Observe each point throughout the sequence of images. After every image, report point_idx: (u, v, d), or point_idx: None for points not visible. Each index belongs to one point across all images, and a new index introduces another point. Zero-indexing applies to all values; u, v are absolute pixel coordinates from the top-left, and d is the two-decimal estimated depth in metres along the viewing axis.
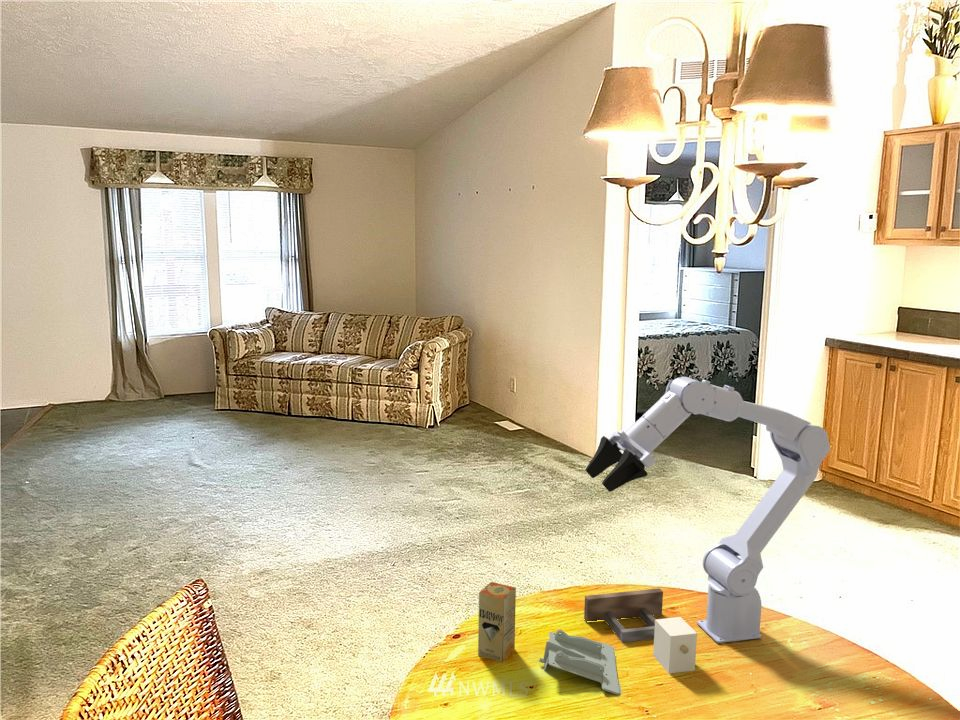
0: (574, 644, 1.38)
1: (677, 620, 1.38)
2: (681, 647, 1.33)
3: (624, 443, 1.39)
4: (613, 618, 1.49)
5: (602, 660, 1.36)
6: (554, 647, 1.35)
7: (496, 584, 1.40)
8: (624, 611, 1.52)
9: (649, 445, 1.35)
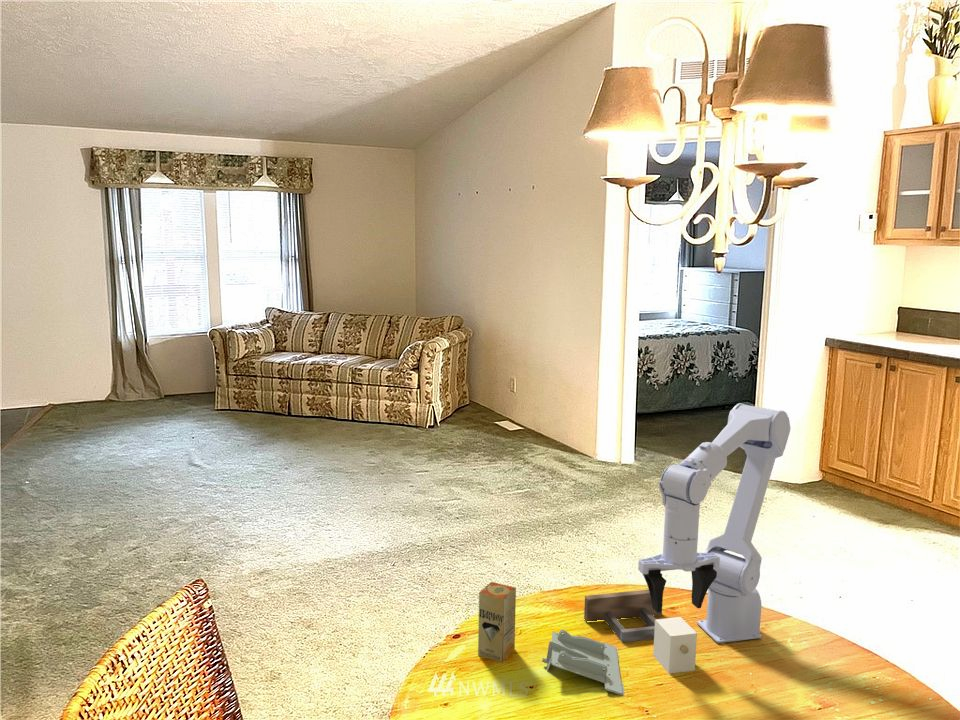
0: (577, 644, 1.38)
1: (677, 620, 1.38)
2: (681, 647, 1.33)
3: None
4: (613, 618, 1.49)
5: (605, 660, 1.36)
6: (557, 647, 1.35)
7: (496, 584, 1.40)
8: (624, 611, 1.52)
9: None
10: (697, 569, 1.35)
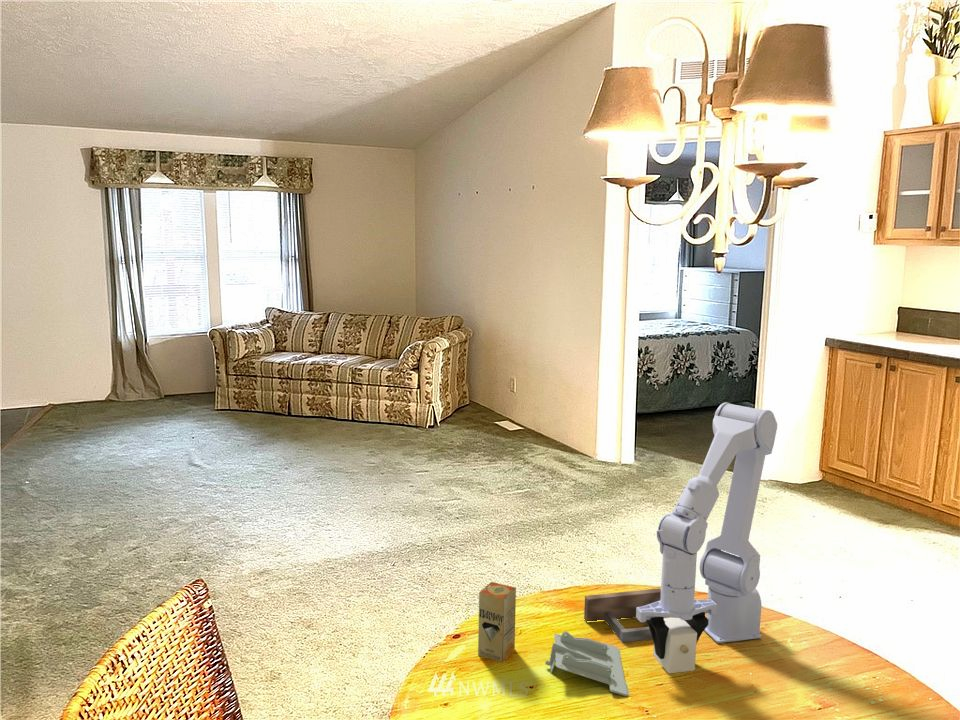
0: (580, 646, 1.37)
1: (677, 620, 1.38)
2: (681, 647, 1.33)
3: None
4: (613, 618, 1.49)
5: (608, 661, 1.35)
6: (560, 649, 1.34)
7: (496, 584, 1.40)
8: (624, 611, 1.52)
9: None
10: None
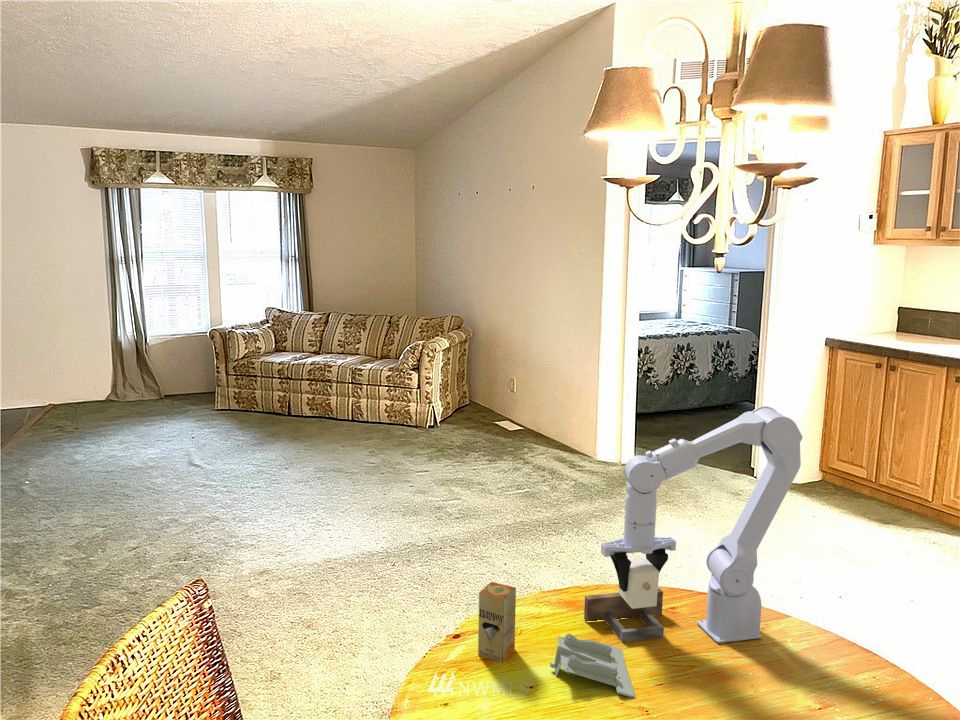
0: (583, 648, 1.37)
1: (641, 560, 1.48)
2: (644, 584, 1.43)
3: None
4: (613, 618, 1.49)
5: (613, 663, 1.35)
6: (565, 652, 1.33)
7: (496, 584, 1.40)
8: (624, 611, 1.52)
9: None
10: (650, 553, 1.47)
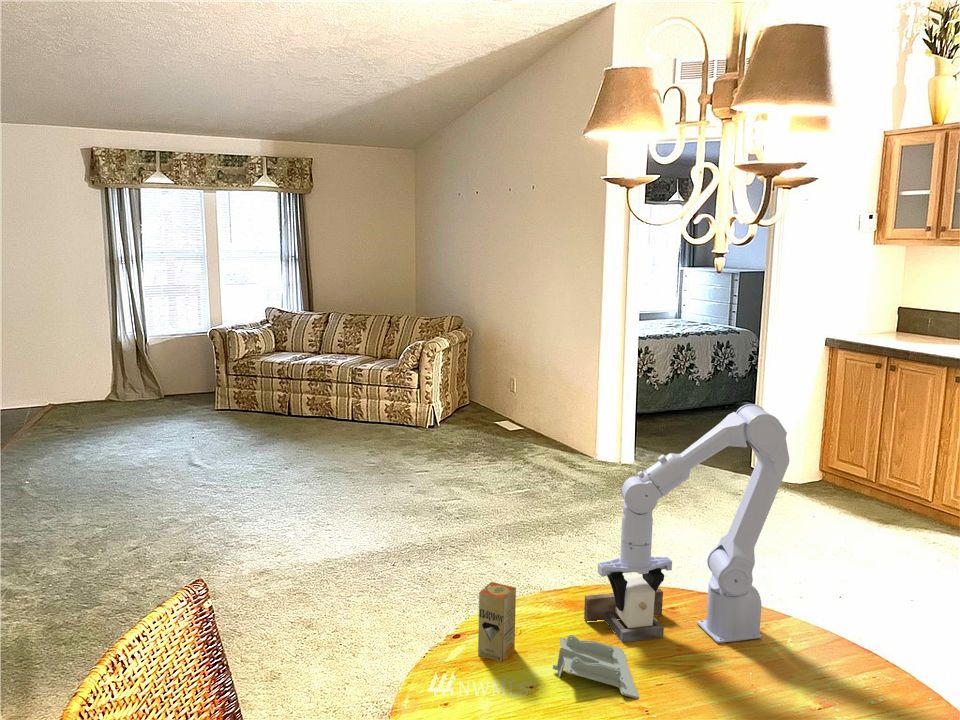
0: (586, 649, 1.36)
1: (638, 579, 1.49)
2: (640, 604, 1.44)
3: None
4: (613, 618, 1.49)
5: (615, 664, 1.35)
6: (568, 653, 1.33)
7: (496, 584, 1.40)
8: None
9: None
10: None
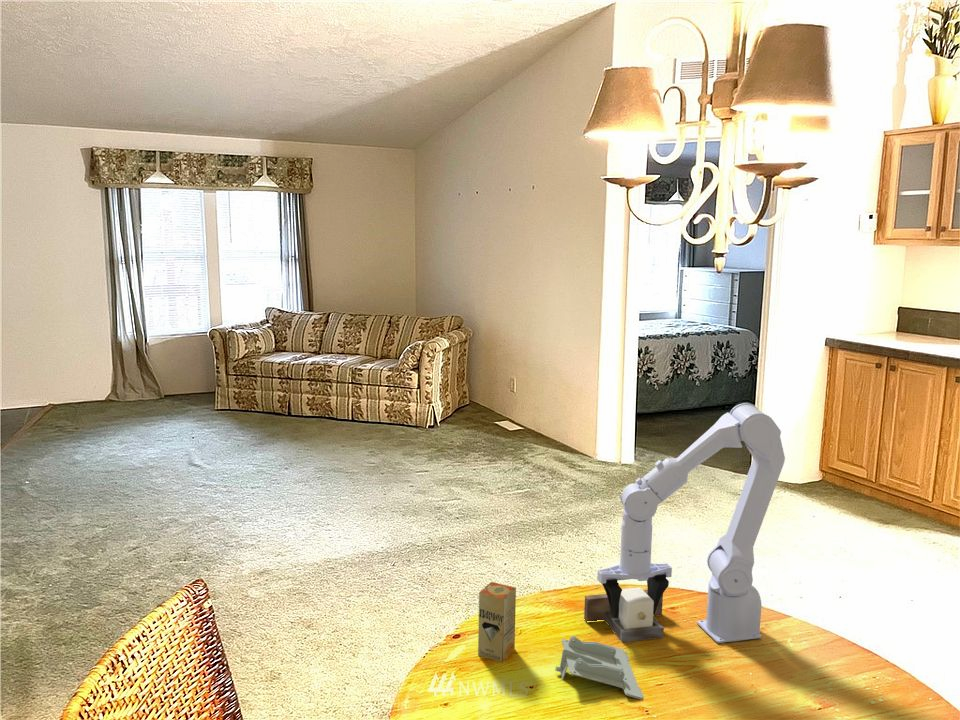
0: (588, 650, 1.36)
1: (636, 590, 1.50)
2: (639, 614, 1.45)
3: None
4: (613, 618, 1.49)
5: (618, 664, 1.34)
6: (571, 655, 1.32)
7: (496, 584, 1.40)
8: None
9: None
10: (651, 578, 1.49)
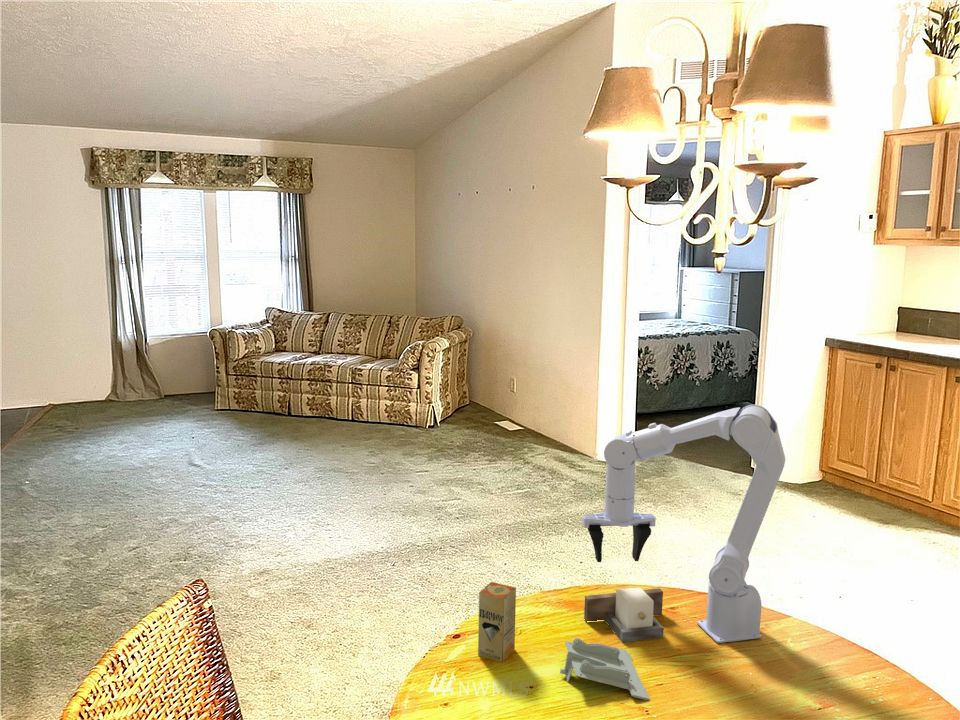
0: (592, 652, 1.36)
1: (636, 590, 1.50)
2: (639, 614, 1.45)
3: None
4: (613, 618, 1.49)
5: (622, 666, 1.34)
6: (575, 657, 1.32)
7: (496, 584, 1.40)
8: None
9: None
10: (636, 527, 1.55)
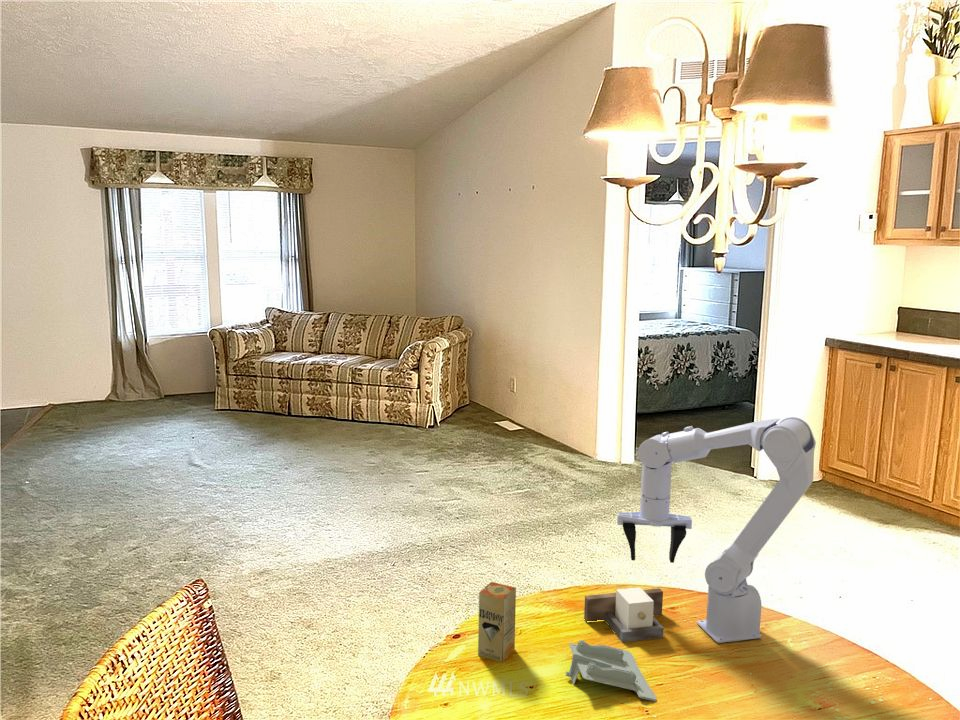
0: (596, 653, 1.35)
1: (636, 590, 1.50)
2: (639, 614, 1.45)
3: None
4: (613, 618, 1.49)
5: (627, 667, 1.34)
6: (581, 659, 1.31)
7: (496, 584, 1.40)
8: None
9: None
10: (672, 528, 1.55)
